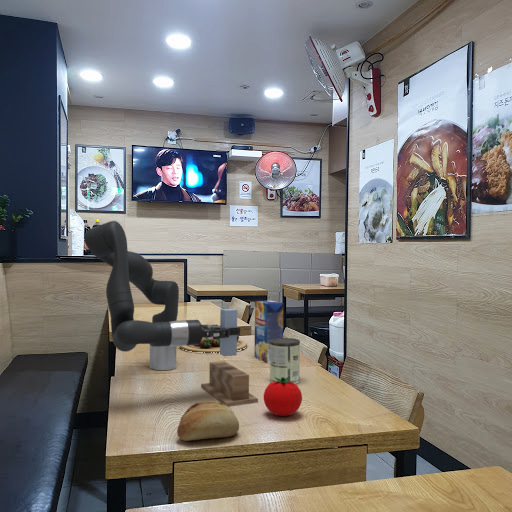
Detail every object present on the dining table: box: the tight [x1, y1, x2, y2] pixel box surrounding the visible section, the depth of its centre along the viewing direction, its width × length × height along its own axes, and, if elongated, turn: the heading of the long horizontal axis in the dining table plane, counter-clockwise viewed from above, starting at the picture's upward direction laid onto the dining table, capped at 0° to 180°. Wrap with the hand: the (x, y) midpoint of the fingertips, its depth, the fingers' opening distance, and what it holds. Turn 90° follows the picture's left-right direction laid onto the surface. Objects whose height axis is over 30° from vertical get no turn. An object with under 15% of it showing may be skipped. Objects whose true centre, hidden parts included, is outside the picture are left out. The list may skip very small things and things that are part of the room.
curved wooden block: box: [200, 360, 259, 407], centre depth 145 cm, size 22×10×8 cm, turn 26°
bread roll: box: [176, 400, 240, 442], centre depth 110 cm, size 10×15×8 cm, turn 114°
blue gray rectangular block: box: [219, 308, 238, 357], centre depth 145 cm, size 4×4×14 cm
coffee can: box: [269, 337, 301, 385], centre depth 161 cm, size 10×10×14 cm
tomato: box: [263, 377, 303, 417], centre depth 126 cm, size 10×10×10 cm
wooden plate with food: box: [179, 335, 248, 353], centre depth 221 cm, size 32×32×8 cm
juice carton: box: [253, 300, 284, 364], centre depth 195 cm, size 12×8×24 cm, turn 25°
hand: (236, 330), depth 146 cm, fingers closed on blue gray rectangular block, 4 cm apart
